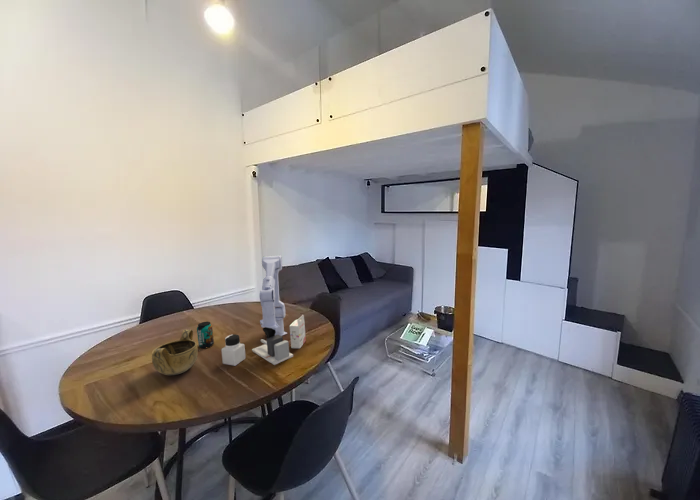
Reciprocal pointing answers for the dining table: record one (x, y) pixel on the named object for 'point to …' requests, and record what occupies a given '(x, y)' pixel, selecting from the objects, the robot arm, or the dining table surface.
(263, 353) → the pipe stand
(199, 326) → the beverage can
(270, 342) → the grey square sleeve
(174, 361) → the ceramic bowl
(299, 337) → the ink cartridge box
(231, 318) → the dining table surface
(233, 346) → the medicine bottle
